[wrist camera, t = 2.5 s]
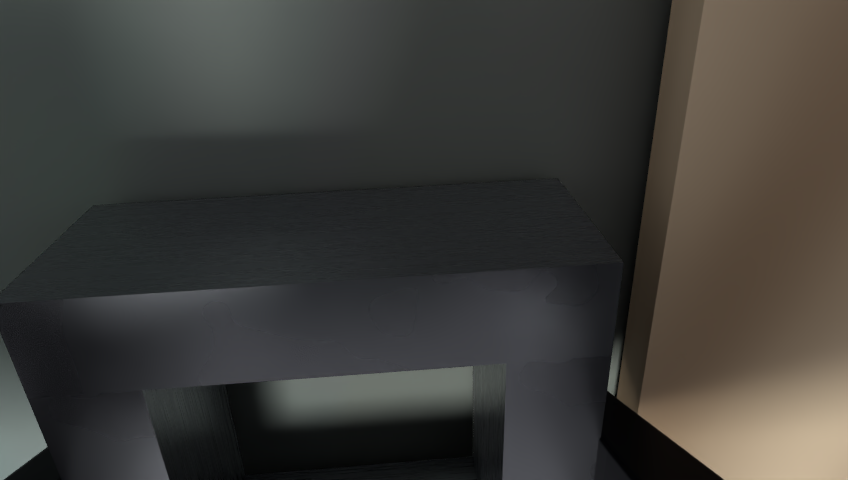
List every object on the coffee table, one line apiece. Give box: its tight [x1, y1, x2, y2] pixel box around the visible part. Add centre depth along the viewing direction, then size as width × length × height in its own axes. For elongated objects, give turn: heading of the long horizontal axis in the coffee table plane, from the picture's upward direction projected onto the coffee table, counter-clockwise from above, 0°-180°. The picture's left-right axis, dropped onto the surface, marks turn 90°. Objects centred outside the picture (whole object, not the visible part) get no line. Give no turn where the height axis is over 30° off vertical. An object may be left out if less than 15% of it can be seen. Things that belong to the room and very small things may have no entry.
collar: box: [0, 179, 624, 480], centre depth 9 cm, size 6×6×2 cm
